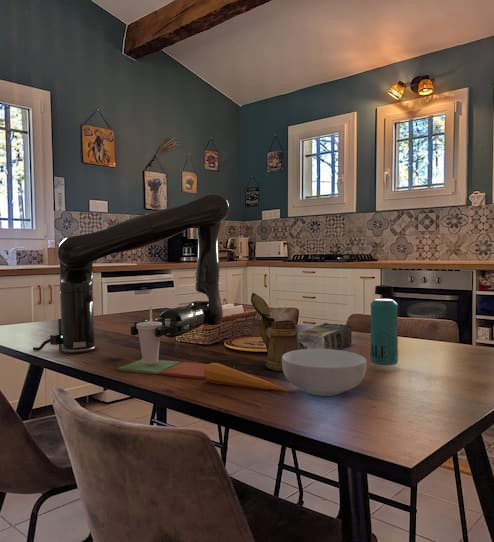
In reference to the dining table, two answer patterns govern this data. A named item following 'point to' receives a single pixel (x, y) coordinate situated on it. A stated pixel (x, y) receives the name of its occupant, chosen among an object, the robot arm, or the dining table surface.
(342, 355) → the cereal bowl
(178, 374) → the terracotta mat
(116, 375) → the dining table surface
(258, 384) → the carrot
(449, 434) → the dining table surface
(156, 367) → the green mat
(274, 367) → the wooden mug
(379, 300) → the beverage bottle
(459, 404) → the dining table surface
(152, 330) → the smoothie
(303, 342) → the grey patterned box
